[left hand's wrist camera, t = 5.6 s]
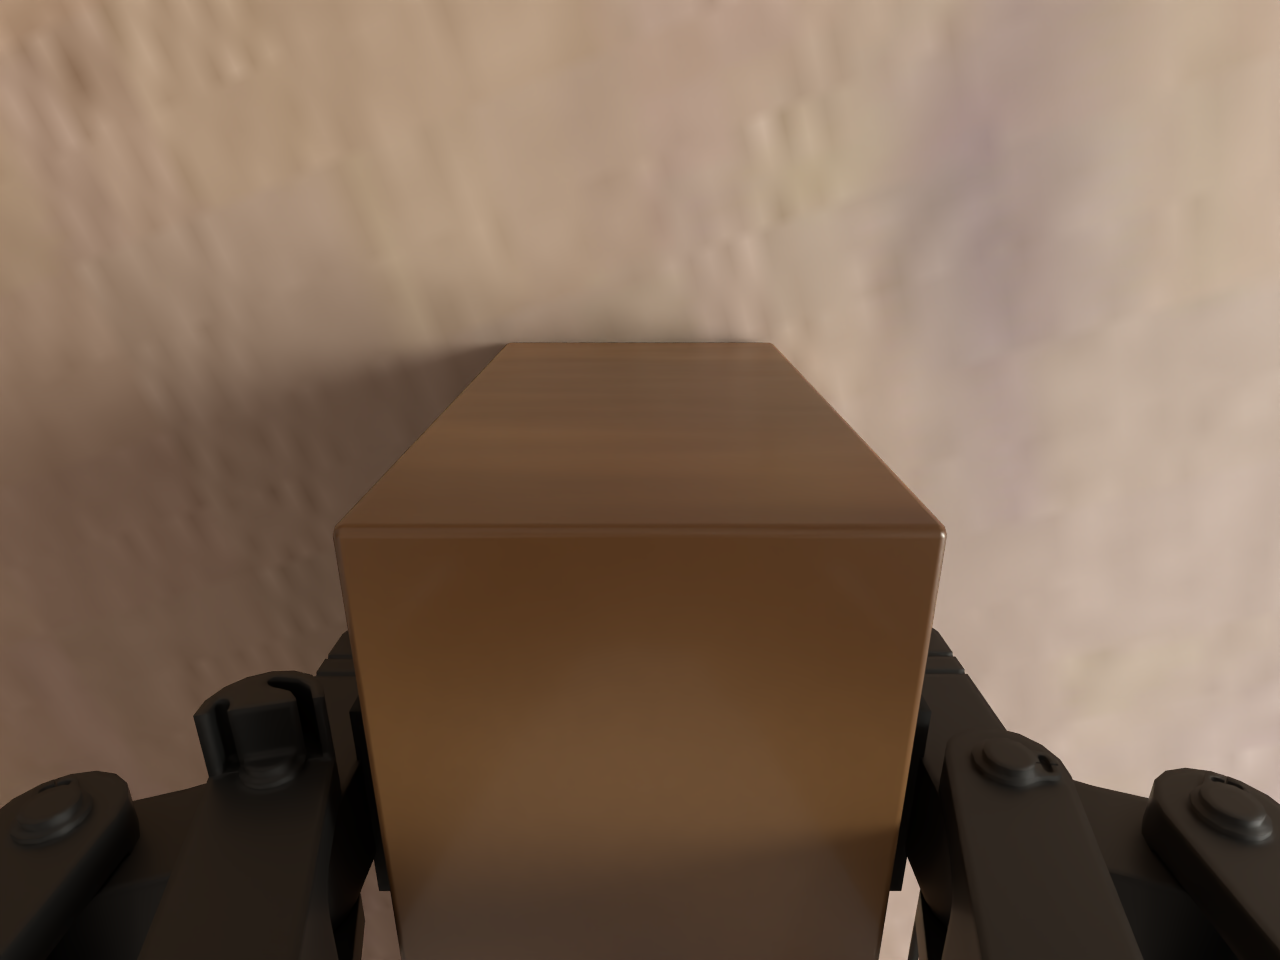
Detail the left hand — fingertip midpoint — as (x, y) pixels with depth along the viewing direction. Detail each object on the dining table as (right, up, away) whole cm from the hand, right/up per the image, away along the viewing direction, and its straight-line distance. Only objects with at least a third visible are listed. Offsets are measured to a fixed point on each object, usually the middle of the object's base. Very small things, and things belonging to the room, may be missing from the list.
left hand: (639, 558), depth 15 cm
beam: (0, -20, +8) cm, 22 cm away
